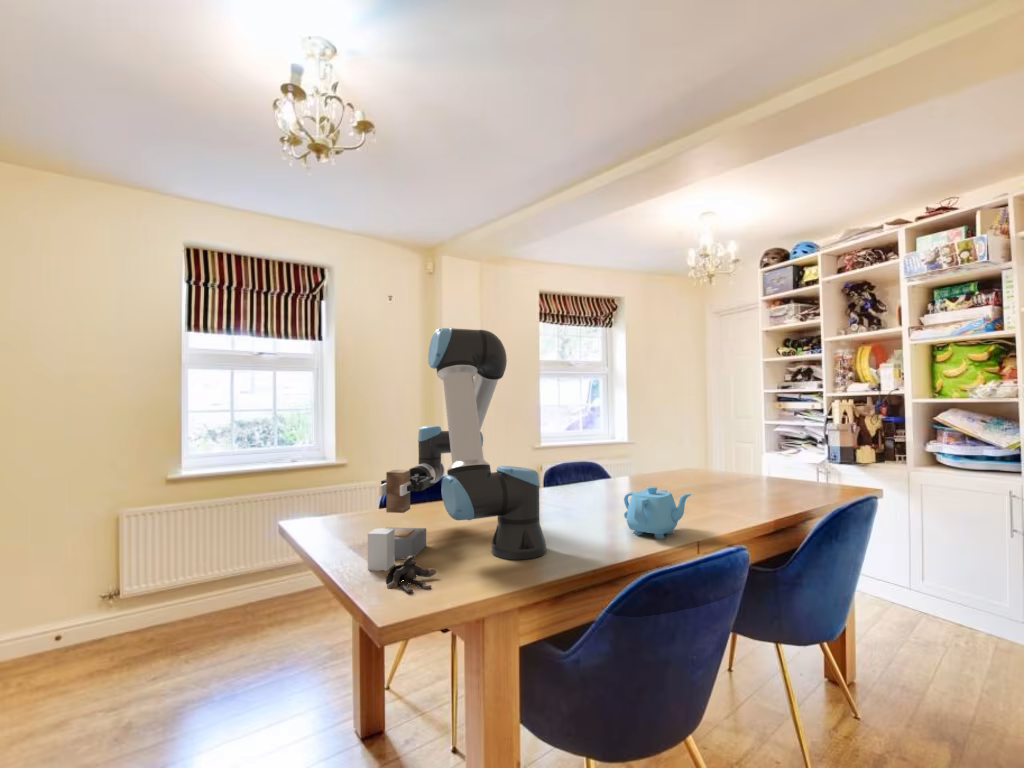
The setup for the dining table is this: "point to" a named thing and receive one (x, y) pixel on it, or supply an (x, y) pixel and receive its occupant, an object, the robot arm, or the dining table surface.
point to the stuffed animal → (408, 575)
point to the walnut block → (397, 491)
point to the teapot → (653, 511)
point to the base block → (408, 541)
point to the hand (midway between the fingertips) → (391, 490)
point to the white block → (381, 549)
